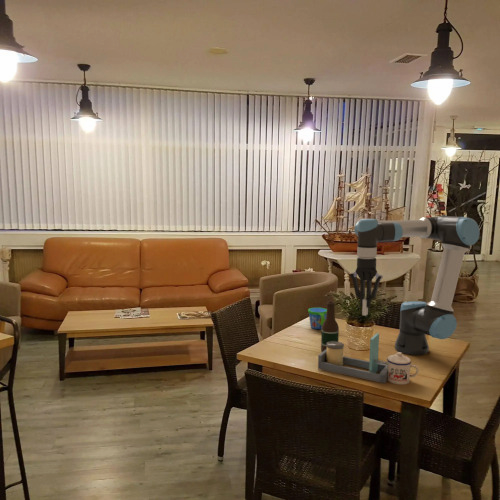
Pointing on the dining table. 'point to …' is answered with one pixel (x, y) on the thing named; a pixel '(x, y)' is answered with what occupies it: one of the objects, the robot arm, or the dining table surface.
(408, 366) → the teacup with lid
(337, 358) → the jar
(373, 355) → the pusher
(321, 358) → the tray
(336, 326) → the beer bottle
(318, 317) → the snack cup
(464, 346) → the dining table surface
